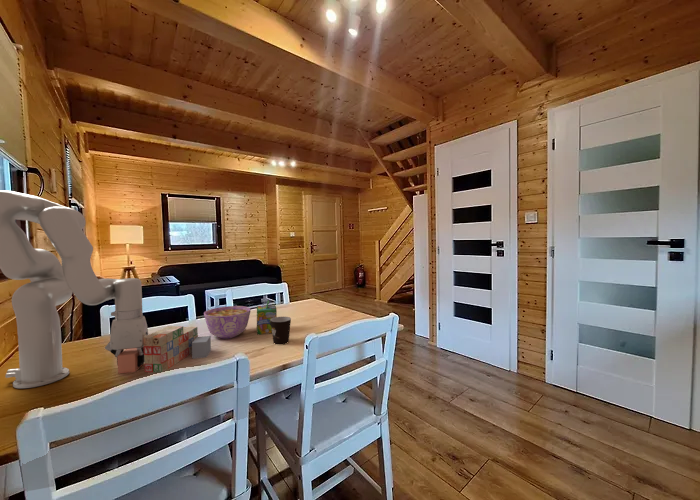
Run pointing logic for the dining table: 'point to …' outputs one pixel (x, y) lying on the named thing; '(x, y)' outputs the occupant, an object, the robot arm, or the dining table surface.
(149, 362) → the stack of blocks
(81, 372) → the dining table surface
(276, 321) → the coffee mug
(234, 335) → the bowl of food
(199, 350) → the slate brick
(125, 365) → the terracotta brick
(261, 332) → the juice box
